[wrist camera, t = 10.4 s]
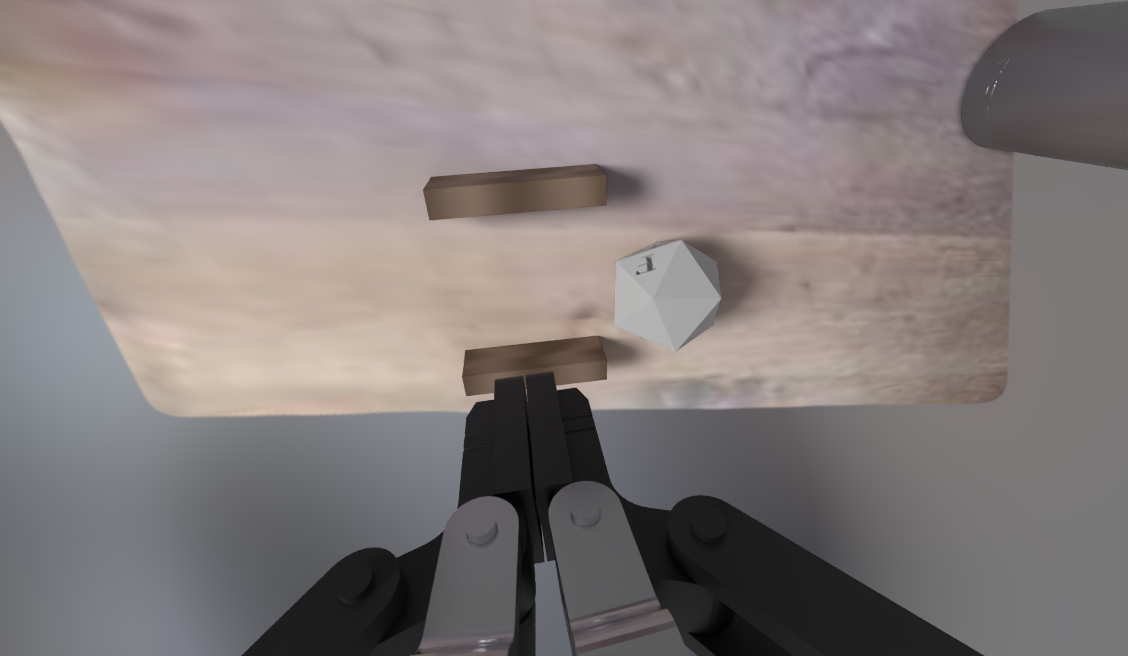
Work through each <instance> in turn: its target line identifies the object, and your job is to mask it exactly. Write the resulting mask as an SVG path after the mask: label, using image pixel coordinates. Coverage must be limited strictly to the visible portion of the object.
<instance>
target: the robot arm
mask: <svg viewBox="0 0 1128 656" xmlns="http://www.w3.org/2000/svg"><path fill="white" fill-rule="evenodd" d="M961 118H962V126H963V128H964V131H965V133H966V135H967V136H968V137H969V139H970V140H971V141H972V142H974V143H975V144H977V145H979V146H982V147H988V148H994V149H1000V150H1006V151H1012V152H1019V153H1025V154H1031V155H1035V156H1042V157H1048V158H1055V159H1061V160H1067V161H1074V162H1080V163H1086V164H1093V165H1099V166H1105V167H1113V168H1118V169H1125V170H1128V1H1123V2H1112V3H1104V4H1094V5H1086V6H1076V7H1068V8H1058V9H1050V10H1045V11H1041V12H1038V13H1035V14H1032V15H1030V16H1028V17H1026V18H1024V19H1022V20H1021V21H1019V22H1018V23H1016V24H1015V25H1013V26H1012V27H1011V28H1009V29H1008V30H1007V31H1005V32H1004V33H1003V34H1002V35H1001V36H1000V37H999V38H998V39H997V40H996V41H995V42H994V43H993V44H992V46H991V47H990V48H989V49H988V51H987V52H986V53H985V54H984V56H983V57H982V58H981V60H980V62H979V63H978V65H977V66H976V68H975V70H974V71H973V73H972V75H971V78H970V80H969V82H968V84H967V87H966V90H965V94H964V97H963V101H962V110H961ZM525 376H526V388H527V395H526V389H525V382H524V377H523V375H522V376H515V377H508V378H501V379H495V382H494V400H488V401H481V402H476V403H475V405H474V406H473V408H472V410H471V411H470V413H469V414H468V416H467V418H466V428H465V439H464V451H463V459H462V470H461V480H460V491H459V502H458V508H457V510H456V511H455V512H454V513H453V514H452V516H451V517H450V518H449V520H448V522H447V524H446V526H445V529H444V531H443V532H442V533H441V534H440V535H439V536H437V537H436V538H435V539H433V540H432V541H430V542H429V543H427V544H425V545H423V546H421V547H419V548H417V549H414V550H412V551H410V552H408V553H406V554H404V555H402V556H400V557H397V558H396V557H395V556H394V555H393V554H392V553H391V552H390V551H388V550H386V549H382V548H366V549H362V550H359V551H356V552H354V553H352V554H350V555H348V556H346V557H345V558H343V559H342V560H340V561H339V562H338V563H337V564H335V565H334V566H333V567H332V568H331V569H330V570H329V571H328V572H327V573H326V574H325V575H324V576H323V577H322V578H321V579H320V580H319V581H318V582H317V583H316V584H315V585H313V587H312V588H310V589H309V590H308V591H307V592H306V593H305V594H304V595H303V596H302V597H301V598H300V599H299V600H298V601H297V602H296V603H295V604H294V605H293V606H292V607H291V608H290V609H289V610H288V611H287V612H286V613H285V614H284V615H283V616H282V617H281V618H280V619H279V620H278V621H277V622H275V624H274V625H272V626H271V627H270V629H268V630H267V631H266V632H265V633H264V634H263V635H262V636H261V637H260V638H259V639H258V640H257V641H256V642H255V643H254V644H253V645H252V646H251V647H250V648H249V649H248V650H247V651H246V652H245V653H244V654H243V655H242V656H536V602H535V595H536V583H535V569H534V564H535V563H542V562H544V552H543V540H542V531H543V536H544V543H545V548H546V554H547V561H552V560H555V562H556V568H557V575H558V581H559V588H560V594H561V601H562V605H563V611H564V616H565V621H566V626H567V632H568V637H569V642H570V647H571V652H572V656H689V655H688V652H687V650H686V647H685V645H686V646H687V647H688V648H689V649H690V650H692V651H693V652H694V653H695V654H696V655H697V656H984V655H982V654H980V653H979V652H977V651H975V650H974V649H972V648H970V647H968V646H967V645H965V644H964V643H962V642H960V641H958V640H957V639H955V638H953V637H952V636H950V635H948V634H947V633H945V632H943V631H942V630H940V629H938V628H937V627H935V626H933V625H931V624H930V623H928V622H927V621H925V620H923V619H922V618H920V617H918V616H916V615H915V614H913V613H911V612H910V611H908V610H906V609H905V608H903V607H901V606H900V605H898V604H896V603H895V602H893V601H891V600H890V599H888V598H886V597H885V596H883V595H881V594H880V593H878V592H876V591H874V590H873V589H871V588H869V587H868V586H866V585H864V584H863V583H861V582H859V581H858V580H856V579H854V578H853V577H851V576H849V575H848V574H846V573H844V572H843V571H841V570H839V569H837V568H836V567H834V566H832V565H831V564H829V563H827V562H825V561H824V560H822V559H821V558H819V557H817V556H816V555H814V554H812V553H810V552H809V551H807V550H806V549H804V548H802V547H801V546H799V545H797V544H795V543H794V542H792V541H790V540H789V539H787V538H785V537H784V536H782V535H780V534H779V533H777V532H775V531H773V530H772V529H770V528H769V527H767V526H765V525H763V524H762V523H760V522H758V521H757V520H755V519H753V518H752V517H750V516H748V515H747V514H745V513H743V512H742V511H740V510H738V509H737V508H735V507H733V506H732V505H730V504H728V503H726V502H724V501H723V500H720V499H718V498H715V497H710V496H702V495H700V496H699V495H698V496H691V497H687V498H685V499H683V500H681V501H679V502H678V503H677V504H676V505H675V506H674V507H673V509H672V510H671V511H669V510H661V509H654V508H647V507H642V506H639V505H635V504H633V503H632V502H629V501H627V500H626V499H625V498H623V497H622V496H621V495H620V494H619V493H618V492H617V491H616V490H615V489H614V487H613V485H612V484H611V481H610V478H609V475H608V471H607V467H606V464H605V460H604V456H603V453H602V449H601V446H600V442H599V438H598V434H597V431H596V427H595V423H594V420H593V417H592V412H591V408H590V405H589V401H588V399H587V398H586V397H585V396H584V395H583V394H582V393H581V392H580V391H579V390H578V389H577V388H570V389H563V390H557V389H556V383H555V378H554V372H553V371H549V372H542V373H535V374H528V375H525ZM527 400H528V401H527ZM541 525H542V530H541ZM684 644H685V645H684Z"/></svg>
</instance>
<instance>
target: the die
mask: <svg viewBox="0 0 1128 656" xmlns="http://www.w3.org/2000/svg"><path fill="white" fill-rule="evenodd" d="M721 299H722V298H721V290H720V282H719V274H718V266H717V261H715V260H713V259H712V258H710V257H708V256H707V255H705V254H704V253H702V252H700V251H699V250H697V249H696V248H694V247H692V246H691V245H689V244H688V243H686V242H684V241H683V240H673V241H662V242H656V243H654V244H652V245H649V246H647V247H645V248H644V249H641V250H639V251H637V252H634V253H632V254H630V255H628V256H626V257H624V258H622V259H619V260H617V261H616V286H615V325H614V326H615V327H617V328H620V329H622V330H625V331H627V332H629V333H632V334H634V335H637V336H639V337H642V338H644V339H647V340H649V341H651V342H654V343H656V344H659V345H661V346H664V347H666V348H669V349H671V350H673V351H677V350H679V349H680V348H682V347H683V346H684V345H686V344H687V343H689V342H690V341H691V340H693V339H694V338H695V337H697V336H698V335H700V334H701V333H702V332H704V331H705V330H707V329H708V328H709V327H711V326H712V325H713V323H714V320H715V317H716V314H717V311H718V308H719V305H720V302H721Z"/></svg>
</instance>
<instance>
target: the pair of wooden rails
mask: <svg viewBox="0 0 1128 656" xmlns="http://www.w3.org/2000/svg"><path fill="white" fill-rule="evenodd" d="M423 192H424V196H425V201H426V206H427V211H428V216H429V220H439V219H451V218H463V217H474V216H486V215H498V214H509V213H521V212H532V211H544V210H556V209H567V208H579V207H591V206H602V205H606V174H605V173H604V172H603V171H602V170H601V169H600V168H599V167H598V166H597V165H595V164H592V165H579V166H566V167H553V168H540V169H527V170H515V171H502V172H489V173H476V174H463V175H450V176H438V177H431V178H430V180H429V181H428V183H427V184H426V186H425V188H424V189H423ZM549 371H553V372H554V378H555V383H556V385H564V384H572V383H581V382H589V381H598V380H606V379H607V360H606V357H605V354H604V352H603V349H602V346H601V344H600V341H599V338H598V336H591V337H582V338H573V339H564V340H555V341H546V342H537V343H528V344H519V345H510V346H501V347H492V348H483V349H474V350H465V359H464V367H463V375H462V378H463V383H464V388H465V392H466V396H472V395H480V394H489V393H494V382H495V379H501V378H508V377H515V376H522V375H523V377H524V382H525V389H527V388H526V376H525V375H528V374H535V373H542V372H549Z"/></svg>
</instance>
